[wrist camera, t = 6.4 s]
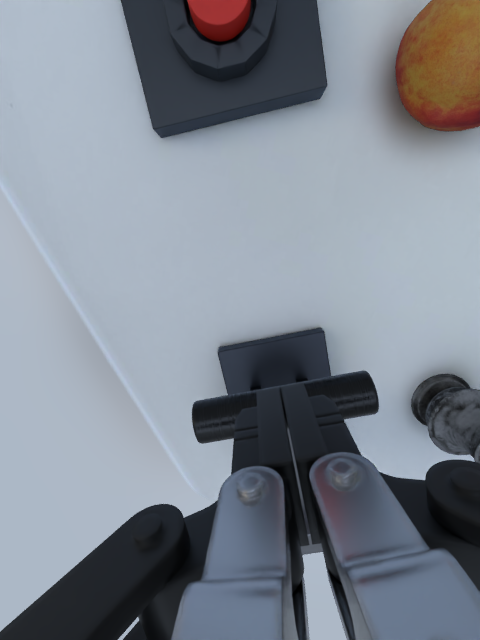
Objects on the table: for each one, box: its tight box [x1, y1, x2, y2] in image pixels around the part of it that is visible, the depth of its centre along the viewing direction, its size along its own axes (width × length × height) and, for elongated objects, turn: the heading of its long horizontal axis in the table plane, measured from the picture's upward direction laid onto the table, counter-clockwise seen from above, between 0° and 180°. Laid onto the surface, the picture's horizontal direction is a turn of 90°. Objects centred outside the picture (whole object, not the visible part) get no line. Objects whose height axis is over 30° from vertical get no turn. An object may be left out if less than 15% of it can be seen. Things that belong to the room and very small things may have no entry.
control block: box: [121, 0, 327, 138], centre depth 21 cm, size 12×10×4 cm
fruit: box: [395, 0, 480, 131], centre depth 20 cm, size 8×8×8 cm
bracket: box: [218, 328, 331, 395], centre depth 23 cm, size 12×9×15 cm
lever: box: [192, 371, 379, 555], centre depth 15 cm, size 12×6×2 cm, turn 12°
